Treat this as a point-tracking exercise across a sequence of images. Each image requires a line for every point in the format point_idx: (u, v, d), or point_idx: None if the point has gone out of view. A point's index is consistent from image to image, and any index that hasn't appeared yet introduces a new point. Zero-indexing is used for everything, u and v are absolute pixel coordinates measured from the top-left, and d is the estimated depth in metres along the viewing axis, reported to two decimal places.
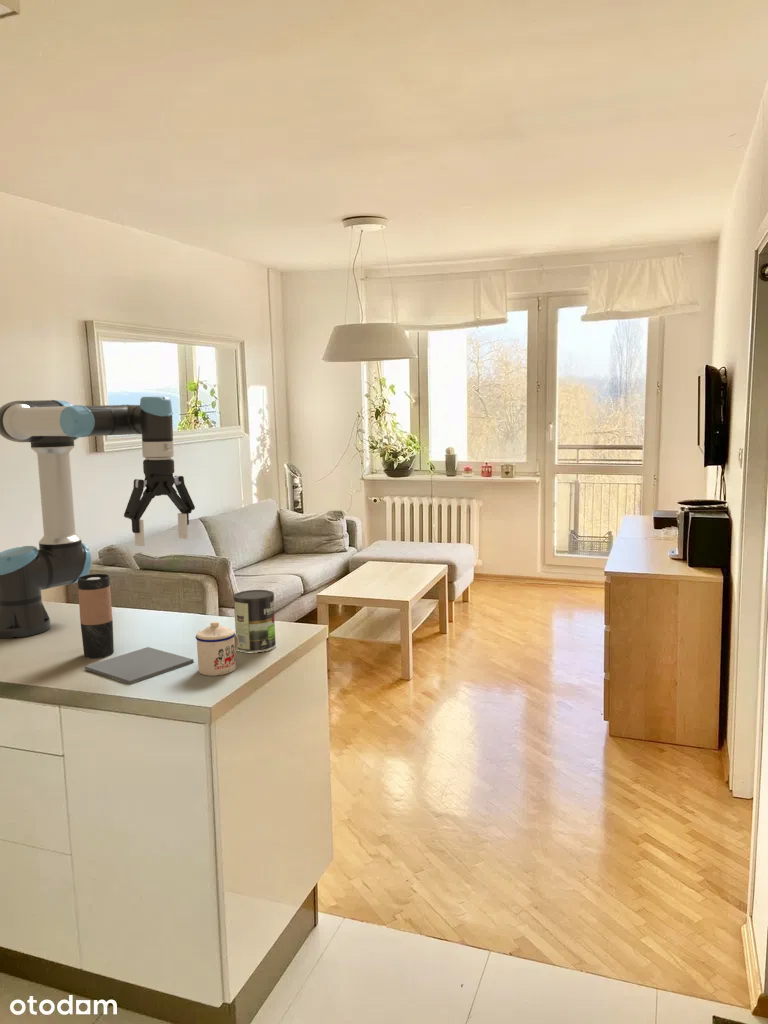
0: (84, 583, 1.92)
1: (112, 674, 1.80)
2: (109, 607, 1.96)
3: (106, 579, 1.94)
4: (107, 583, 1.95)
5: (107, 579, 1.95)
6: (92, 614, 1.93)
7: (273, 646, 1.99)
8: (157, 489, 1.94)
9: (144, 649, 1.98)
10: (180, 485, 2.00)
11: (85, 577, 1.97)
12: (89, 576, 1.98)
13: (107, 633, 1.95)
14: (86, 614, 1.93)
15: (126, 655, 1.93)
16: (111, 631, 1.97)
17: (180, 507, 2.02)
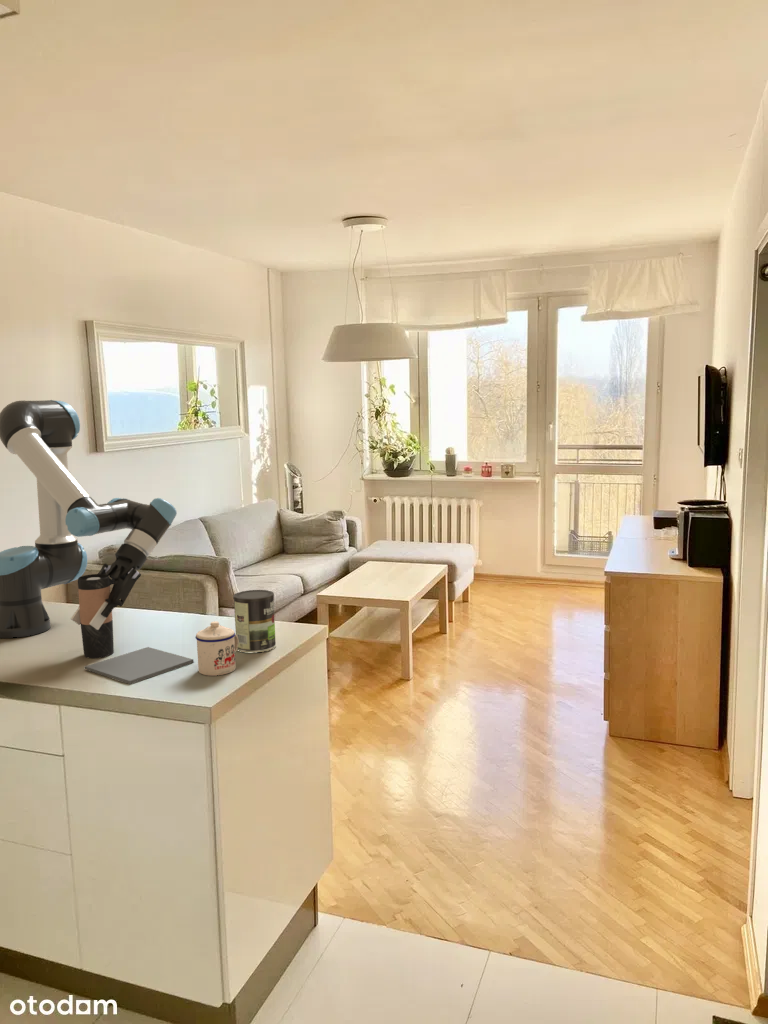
0: (84, 583, 1.92)
1: (112, 674, 1.80)
2: None
3: (106, 579, 1.94)
4: (107, 583, 1.95)
5: (107, 579, 1.95)
6: (92, 614, 1.93)
7: (273, 646, 1.99)
8: None
9: (144, 649, 1.98)
10: None
11: (85, 577, 1.97)
12: (89, 576, 1.98)
13: (107, 633, 1.95)
14: (86, 614, 1.93)
15: (126, 655, 1.93)
16: (111, 631, 1.97)
17: None
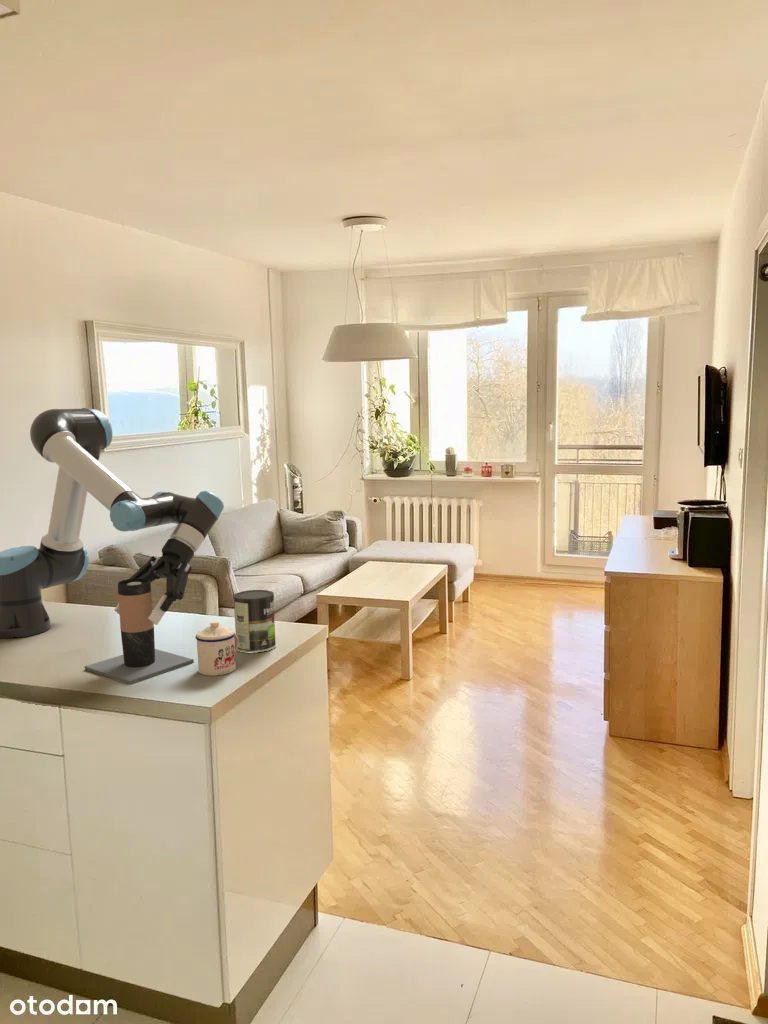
0: (125, 588, 1.81)
1: (112, 674, 1.80)
2: None
3: (148, 584, 1.84)
4: (149, 588, 1.84)
5: (149, 584, 1.84)
6: (133, 622, 1.82)
7: (273, 646, 1.99)
8: None
9: None
10: None
11: (125, 582, 1.87)
12: (129, 580, 1.87)
13: (149, 641, 1.85)
14: (127, 621, 1.82)
15: None
16: (153, 639, 1.86)
17: None
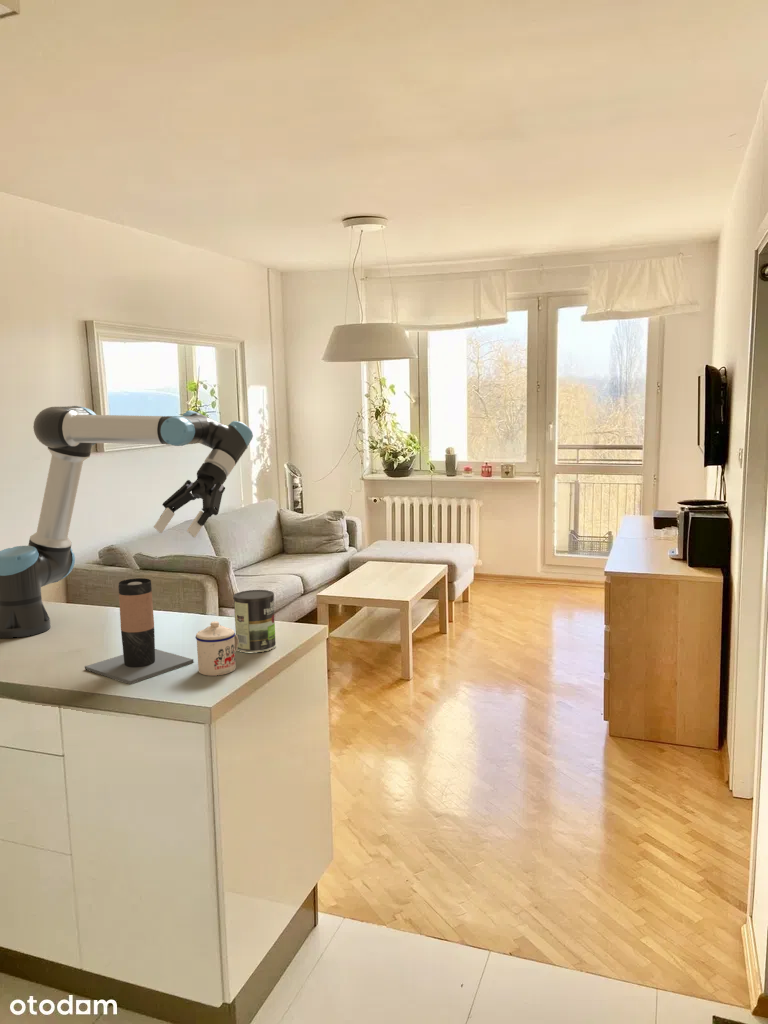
0: (126, 588, 1.81)
1: (112, 674, 1.80)
2: (151, 613, 1.85)
3: (148, 584, 1.84)
4: (149, 588, 1.84)
5: (149, 584, 1.84)
6: (134, 621, 1.82)
7: (273, 646, 1.99)
8: None
9: None
10: None
11: (125, 582, 1.87)
12: (130, 580, 1.88)
13: (149, 641, 1.85)
14: (127, 621, 1.82)
15: None
16: (153, 639, 1.86)
17: (176, 506, 2.09)
